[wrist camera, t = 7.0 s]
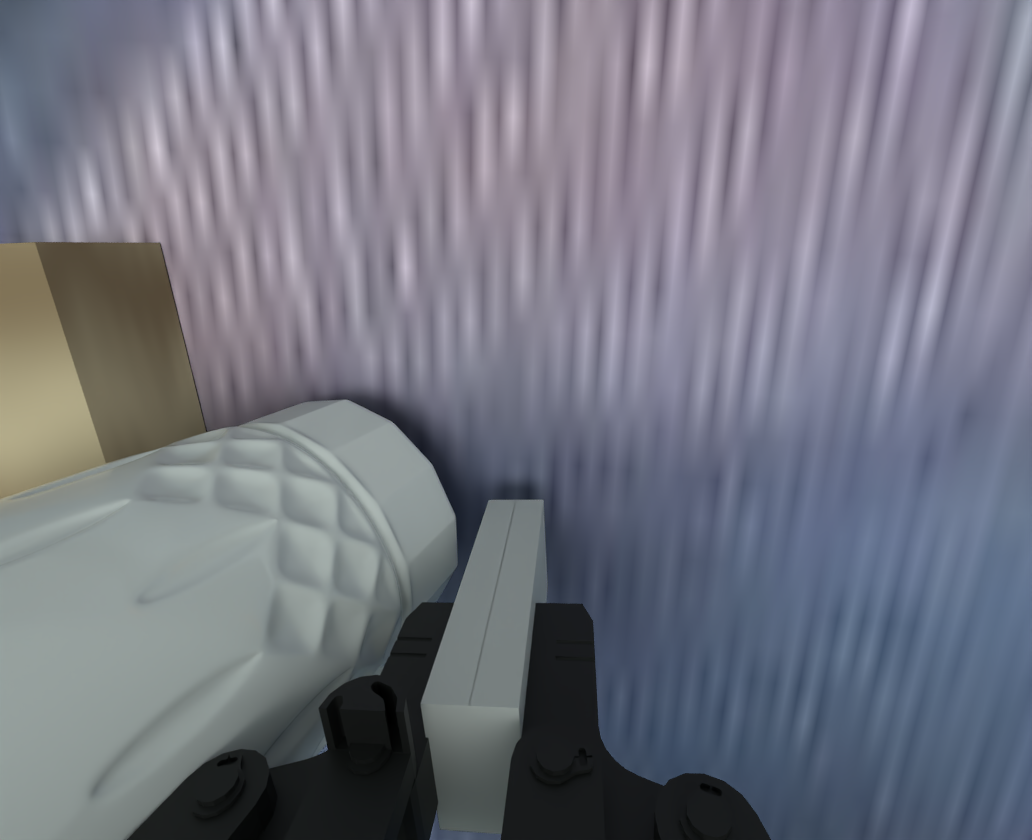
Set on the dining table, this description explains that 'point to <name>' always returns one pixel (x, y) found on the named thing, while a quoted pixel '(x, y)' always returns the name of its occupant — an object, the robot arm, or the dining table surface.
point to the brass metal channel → (88, 360)
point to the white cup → (202, 607)
